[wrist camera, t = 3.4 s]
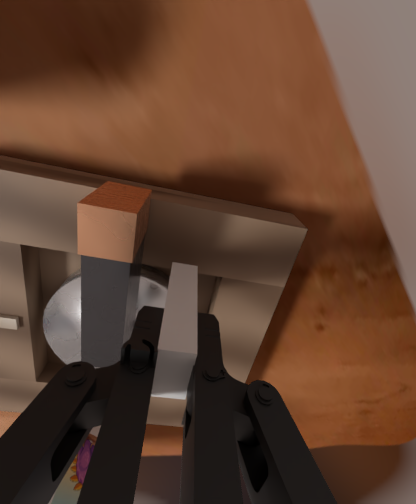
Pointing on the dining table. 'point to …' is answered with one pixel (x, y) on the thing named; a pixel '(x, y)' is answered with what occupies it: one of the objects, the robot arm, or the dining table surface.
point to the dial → (105, 278)
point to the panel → (154, 254)
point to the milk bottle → (76, 473)
